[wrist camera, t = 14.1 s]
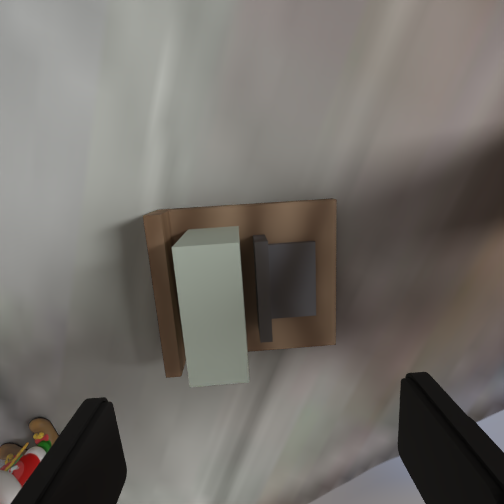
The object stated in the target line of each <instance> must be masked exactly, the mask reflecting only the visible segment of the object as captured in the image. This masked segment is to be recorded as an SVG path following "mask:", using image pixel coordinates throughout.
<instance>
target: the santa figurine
mask: <svg viewBox="0 0 504 504" xmlns="http://www.w3.org/2000/svg"><path fill="white" fill-rule="evenodd" d="M29 428H30V430H31V431H32V432H33V433H35V434H34V436H33V438H34V439H35V443H36V444H38V445H37V446H34V447H31V448H30V449H29V450H27V449H25V448H26V447H27V446H28V444H29V443H28V442H27V443H26V444H25V445H24V447H21V446H19V445H17V444H14V443H5V444H3V445H2V446H1V447H0V459H1V460H6V461H5V465H4V466H3V467H2V468H1V469H0V504H11V502H12V501H13V499H14V498H15V497H16V495H17V494H18V492H19V491H20V489H21V488H22V487H23V485H24V483H25V482H26V481H27V479H28V478H29V477H30V475H31V474H32V473H33V471H34V470H35V468H36V467H37V466H38V464H39V463H40V461H41V460H42V459H43V457H44V456H45V455H46V453H47V452H48V451H49V449H50V448H51V446H52V445H53V444H54V442H55V441H56V439H57V438H58V437H59V435H58V433H57V432H56V430H55V428H54V427H53V425H52V424H51V422H50V421H49V420H48V419H45V418H35V419H33V420H32V421H31V422H30V424H29Z"/></svg>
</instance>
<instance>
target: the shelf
mask: <svg viewBox="0 0 504 504" xmlns="http://www.w3.org/2000/svg"><path fill="white" fill-rule="evenodd" d="M143 220H144V227H145V234H146V241H147V248H148V255H149V262H150V269H151V276H152V283H153V290H154V297H155V304H156V311H157V318H158V325H159V332H160V339H161V346H162V353H163V360H164V367H165V373H166V378H168V377H180V376H182V372H183V369H184V365H185V362H186V355H185V348H184V340H183V332H182V324H181V316H180V309H179V301H178V293H177V285H176V277H175V270H174V262H173V254H172V246H173V245H174V244H175V243H176V242H177V241H178V240H179V239H180V238H181V237H182V236H183V235H184V233H185V232H186V231H187V230H188V229H202V228H216V227H231V226H239V239H240V253H241V266H242V280H243V293H244V307H245V320H246V334H247V350H248V352H249V351H262V350H275V349H287V348H300V347H312V346H325V345H336V199H318V200H302V201H286V202H271V203H255V204H240V205H224V206H208V207H193V208H177V209H161V210H156V211H153V212H151V213H148V214H146V215H144V216H143Z"/></svg>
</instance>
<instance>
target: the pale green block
mask: <svg viewBox="0 0 504 504" xmlns="http://www.w3.org/2000/svg"><path fill="white" fill-rule="evenodd" d="M172 254H173V262H174V270H175V277H176V285H177V293H178V301H179V309H180V316H181V324H182V332H183V340H184V348H185V355H186V363H187V371H188V379H189V387H201V386H213V385H225V384H236V383H248V382H249V366H248V350H247V334H246V320H245V307H244V293H243V280H242V266H241V253H240V239H239V226H231V227H216V228H202V229H188V230H187V231H186V232H185V233H184V235H183V236H182V237H181V238H180V239H179V240H178V241H177V242H176V243H175V244H174V245H173V246H172Z"/></svg>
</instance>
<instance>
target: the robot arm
mask: <svg viewBox="0 0 504 504" xmlns="http://www.w3.org/2000/svg"><path fill="white" fill-rule="evenodd" d="M398 451H399V455H400V457H401V459H402V461H403V463H404V465H405V467H406V468H407V471H408V472H409V474H410V476H411V478H412V479H413V481H414V483H415V485H416V487H417V489H418V490H419V492H420V494H421V496H422V498H423V500H424V502H425V503H426V504H504V453H503V452H502V450H501V449H500V448H499V447H498V446H497V445H496V444H495V443H494V442H493V441H492V440H491V439H490V438H489V436H488V435H487V434H486V433H485V432H484V431H483V430H482V429H481V428H480V427H479V426H478V425H477V423H476V422H475V421H474V420H473V419H471V418H470V417H469V416H467V415H466V414H465V413H464V412H463V410H462V409H461V408H460V407H459V406H458V405H457V404H456V403H455V402H454V401H453V400H452V398H451V397H450V396H449V395H448V394H447V393H446V392H445V391H444V390H443V389H442V388H441V387H440V385H439V384H438V383H437V382H436V381H435V380H434V379H433V378H432V377H431V376H430V375H429V374H428V373H427V372H417V373H408V374H407V375H406V378H403V379H402V380H401V390H400V410H399V431H398ZM126 474H127V467H126V462H125V458H124V453H123V449H122V444H121V439H120V435H119V430H118V426H117V421H116V416H115V412H114V407H113V404H112V402H108V400H107V399H106V398H104V397H103V398H90V399H86V400H85V401H84V402H83V403H82V404H81V406H80V407H79V408H78V410H77V411H76V413H75V414H74V416H73V417H72V418H71V420H70V421H69V423H68V424H67V425H66V427H65V428H64V430H63V431H62V432H61V434H60V435H59V437H58V438H57V439H56V441H55V442H54V444H53V445H52V446H51V448H50V449H49V451H48V452H47V453H46V455H45V456H44V457H43V459H42V460H41V461H40V463H39V464H38V466H37V467H36V468H35V470H34V471H33V473H32V474H31V475H30V477H29V478H28V480H27V481H26V482H25V484H24V485H23V487H22V488H21V489H20V491H19V492H18V494H17V495H16V497H15V498H14V499H13V501H12V502H11V504H116V503H117V501H118V498H119V496H120V493H121V491H122V488H123V485H124V483H125V480H126Z"/></svg>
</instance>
